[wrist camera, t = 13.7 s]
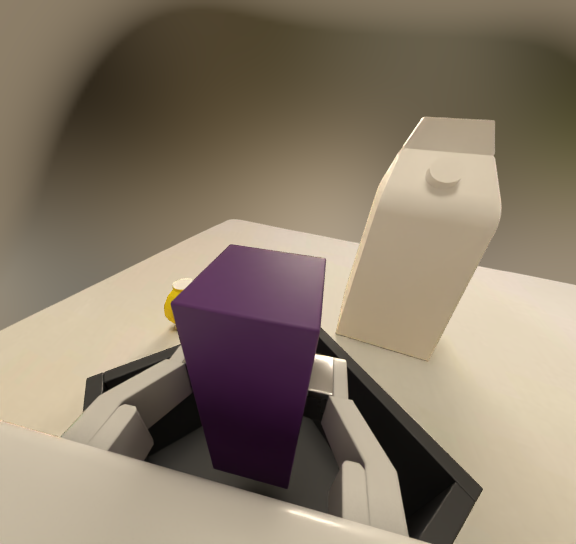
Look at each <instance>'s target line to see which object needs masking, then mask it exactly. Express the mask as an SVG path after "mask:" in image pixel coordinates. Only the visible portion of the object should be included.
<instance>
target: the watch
mask: <svg viewBox="0 0 576 544" xmlns="http://www.w3.org/2000/svg"><path fill="white" fill-rule="evenodd" d="M192 281H193V280H192V279H189V278H184V279H179V280H177V281H175V282H174V283H173V285H172V286H173V290H172V291H171V293H170V294H169V295H168V297H167V300H166V302H165V305H164V311H165V316H166V317H167V318H168V320H169V321H171V322H173V323H175V320H174V316H173V312H172V308H171V301H172V300H174V299H175V298H176V297H177V296H178V295H179V294H180V293H181V292H182V291H183V290H184V289H185V288H186V287H187V286H188V285H189V284H190V283H191V282H192Z"/></svg>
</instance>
